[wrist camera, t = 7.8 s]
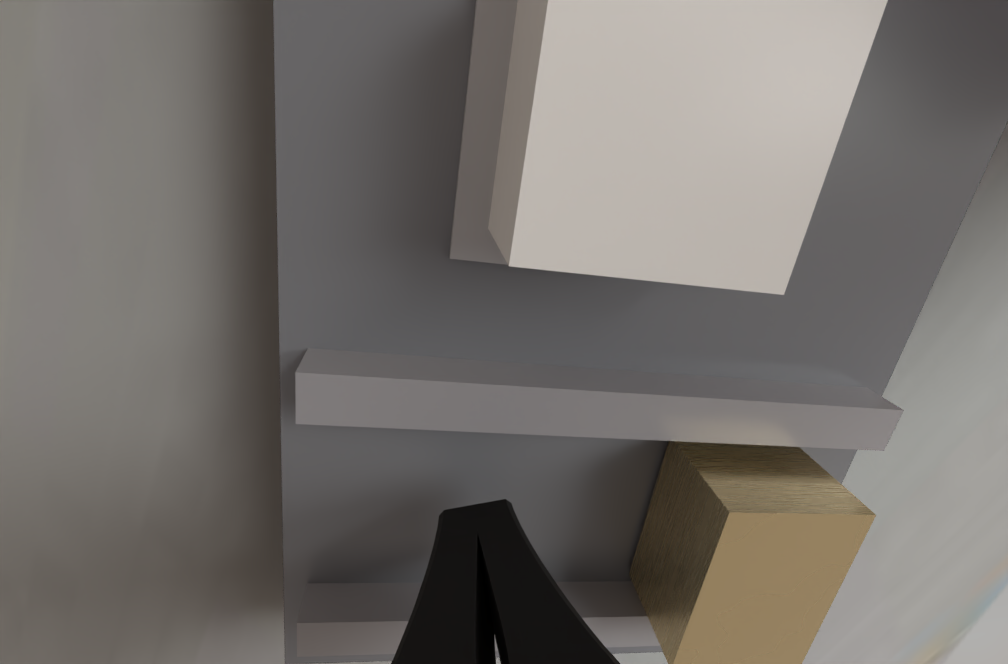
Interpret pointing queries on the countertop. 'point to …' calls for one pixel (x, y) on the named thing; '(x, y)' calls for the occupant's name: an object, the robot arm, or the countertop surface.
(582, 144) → the off-white button
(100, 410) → the countertop surface
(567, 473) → the grey ridged tray
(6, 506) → the countertop surface
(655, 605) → the wood grain block
